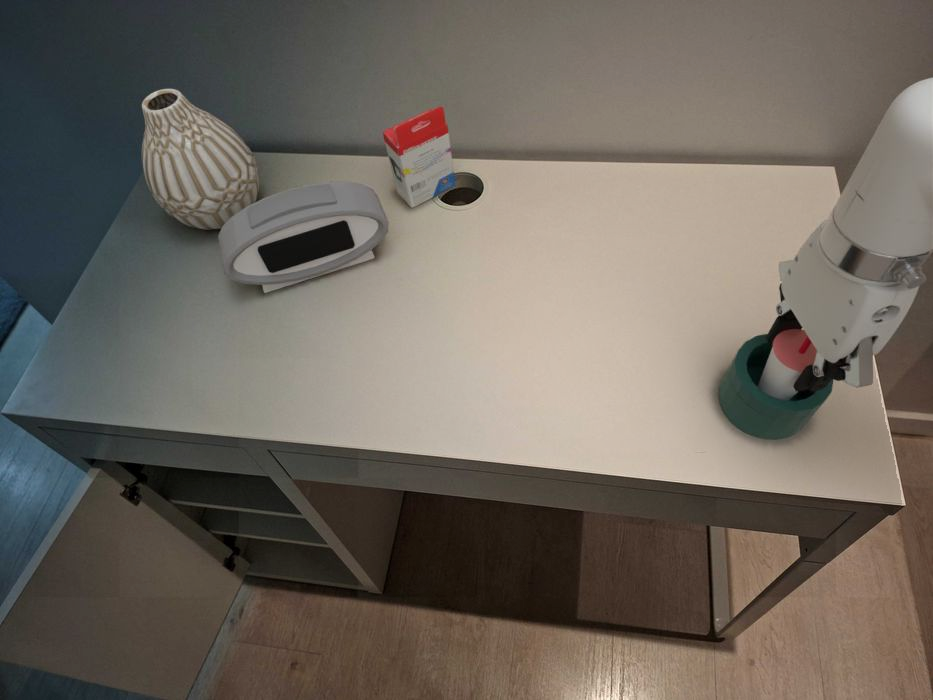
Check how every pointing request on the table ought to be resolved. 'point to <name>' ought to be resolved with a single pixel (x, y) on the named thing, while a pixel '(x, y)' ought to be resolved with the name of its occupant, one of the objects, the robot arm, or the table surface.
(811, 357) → the cup
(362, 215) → the alarm clock
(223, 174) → the vase
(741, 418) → the teal pot
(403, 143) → the ink box
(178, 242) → the table surface
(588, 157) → the table surface
